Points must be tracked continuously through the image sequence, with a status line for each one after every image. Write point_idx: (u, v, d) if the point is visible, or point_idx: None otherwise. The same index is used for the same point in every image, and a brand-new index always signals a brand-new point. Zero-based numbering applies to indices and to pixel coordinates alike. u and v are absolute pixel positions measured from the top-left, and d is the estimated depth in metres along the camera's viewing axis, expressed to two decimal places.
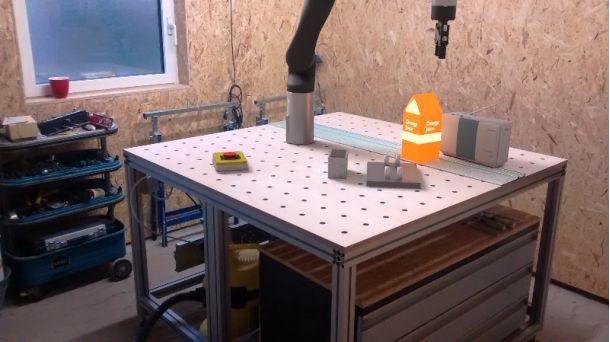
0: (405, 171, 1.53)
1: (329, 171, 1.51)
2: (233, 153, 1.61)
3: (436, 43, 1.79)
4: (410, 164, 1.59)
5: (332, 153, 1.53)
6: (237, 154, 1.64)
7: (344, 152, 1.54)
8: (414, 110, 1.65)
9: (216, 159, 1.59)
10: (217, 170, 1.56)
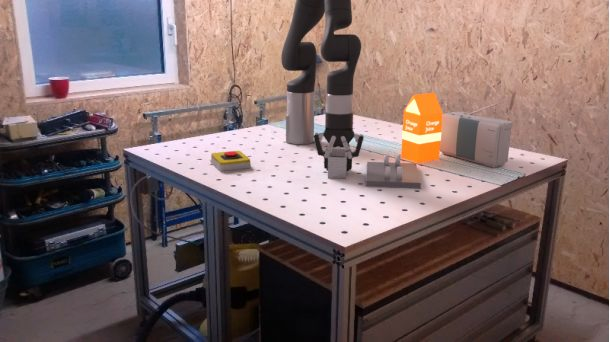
0: (405, 171, 1.53)
1: (329, 171, 1.51)
2: (234, 152, 1.61)
3: None
4: (410, 164, 1.59)
5: (332, 153, 1.53)
6: (236, 153, 1.65)
7: (344, 152, 1.54)
8: (414, 110, 1.65)
9: (218, 159, 1.59)
10: (221, 170, 1.56)
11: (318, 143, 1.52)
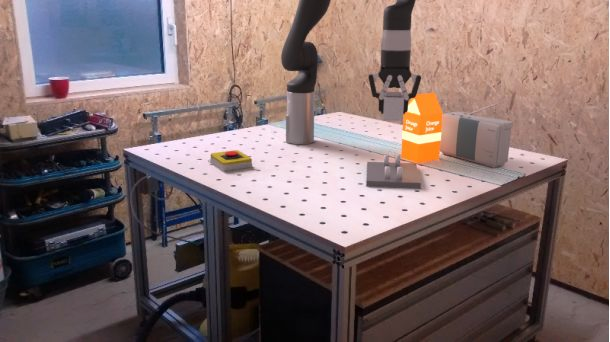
0: (405, 171, 1.53)
1: (385, 112, 1.43)
2: (235, 152, 1.62)
3: (383, 98, 1.46)
4: (410, 164, 1.59)
5: (387, 94, 1.45)
6: None
7: (399, 93, 1.46)
8: (414, 110, 1.65)
9: (220, 159, 1.59)
10: (224, 170, 1.56)
11: (373, 84, 1.45)
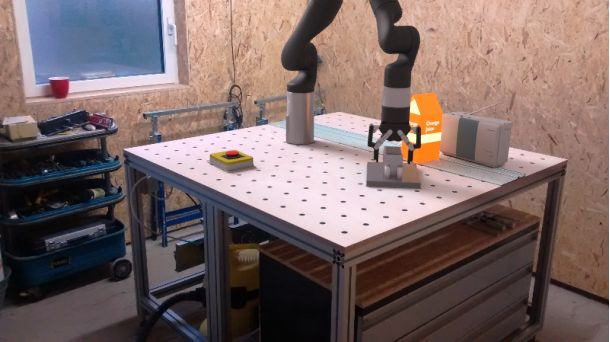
0: (405, 171, 1.53)
1: None
2: (235, 152, 1.62)
3: (377, 148, 1.50)
4: (410, 164, 1.59)
5: (387, 150, 1.50)
6: None
7: (399, 149, 1.51)
8: (414, 110, 1.65)
9: (222, 159, 1.59)
10: (228, 170, 1.57)
11: (371, 134, 1.49)
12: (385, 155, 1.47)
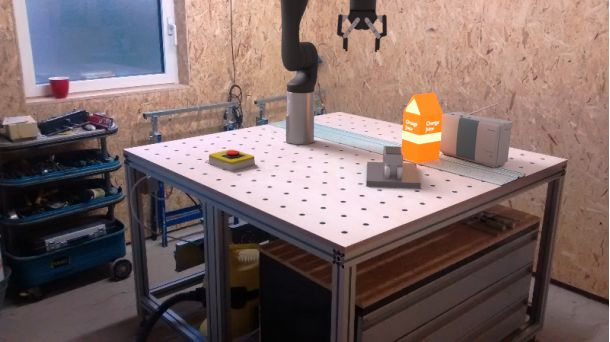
0: (405, 171, 1.53)
1: None
2: (236, 151, 1.63)
3: (346, 37, 1.60)
4: (410, 164, 1.59)
5: (387, 150, 1.50)
6: None
7: (399, 149, 1.51)
8: (414, 110, 1.65)
9: (224, 159, 1.59)
10: (232, 169, 1.57)
11: (340, 23, 1.59)
12: (385, 155, 1.47)
